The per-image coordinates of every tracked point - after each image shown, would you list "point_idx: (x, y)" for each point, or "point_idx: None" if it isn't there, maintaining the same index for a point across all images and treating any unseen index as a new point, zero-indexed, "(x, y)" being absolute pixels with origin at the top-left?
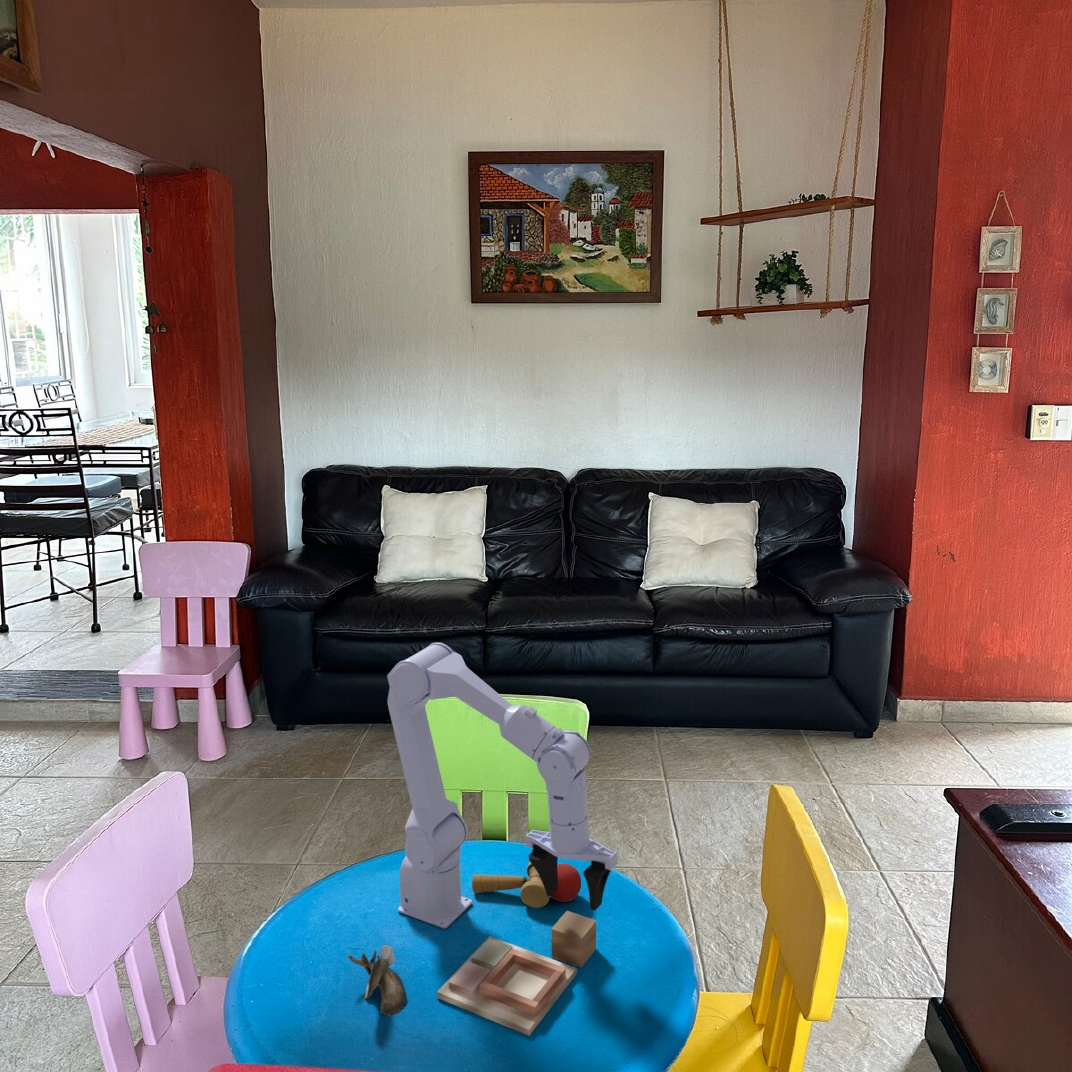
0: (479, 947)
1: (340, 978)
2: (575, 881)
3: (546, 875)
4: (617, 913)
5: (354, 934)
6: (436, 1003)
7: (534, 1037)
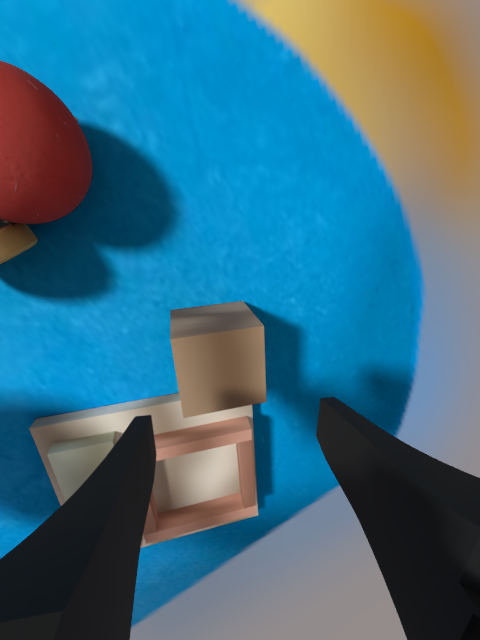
0: (44, 463)
1: None
2: (72, 160)
3: (136, 562)
4: (220, 146)
5: None
6: None
7: (262, 501)
